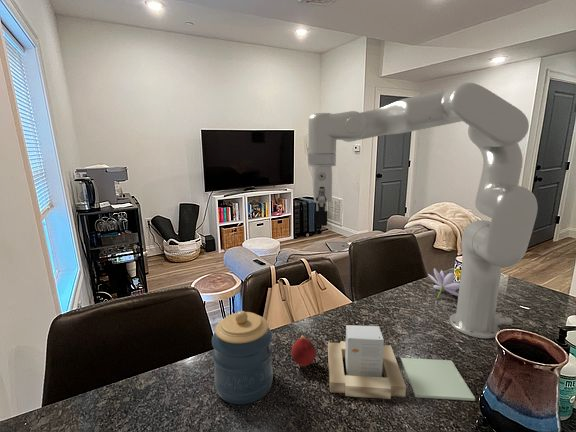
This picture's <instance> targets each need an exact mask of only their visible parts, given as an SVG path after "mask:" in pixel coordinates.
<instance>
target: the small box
mask: <svg viewBox="0 0 576 432" xmlns="http://www.w3.org/2000/svg"><path fill="white" fill-rule="evenodd" d="M345 341H346V348H345V358H344V363H345V364H344V365H345V372H346V374H345V375H349V376H367V377H383V371H382V369H383V351H384V345H385V339H384V337H383V334H382V330H381V328H380V326H378V325H377V326H376V325H375V326H374V325H354V324H352V325H350V324H349V325H348V324H346V325H345Z"/></svg>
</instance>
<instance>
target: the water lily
mask: <svg viewBox="0 0 576 432" xmlns="http://www.w3.org/2000/svg"><path fill="white" fill-rule="evenodd" d="M433 273H434V276H432V275H431V274H429V273H427V276H428V277H429V278H430V279H431V280H432V281H433V282H434V283H435V284H434V285H433V289H435V290H439V292H438V294H437V298H436V299H438V300H439V299H440V296H441V295H442V292H443V289H444V290H445V291H446V292H448V293H450V294H451V295H453V296H454V297H455V296H456V297H458V294H459V292H458V291H457V290H459V285H460V280H459V281H457V280H455V281H453V280H454V279H455V274H454V273H453V272H449V273H447V275H445V273H444V271H443V270H442V269H441V270H440V273H439V271H438V270H437V269H436V268H433Z"/></svg>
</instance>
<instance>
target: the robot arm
mask: <svg viewBox="0 0 576 432" xmlns="http://www.w3.org/2000/svg"><path fill="white" fill-rule="evenodd" d="M461 122H463V123H465V124H466V125H468V129H467V135H468V138H469V140H470V141H471V142H472V143H473V144H474V145H475V146H476V147H478V149H479V151H480V152H481V155H482V159H483V164H482V171H481V175H480V180H479V184H478V188H477V192H476V197H475V201H474V203H475V204H474V205H475V207H476V209H477V211H478V212H479V213H480V214H482V215H484V216H485V217H488V218H491V220H485V219H483V220H482V219H479V220H475V221H472V222H470V223H469V224H467V225H466V226H465V227H464V229H463V231H462V235H461V255H462V256H461V257H462V258H461V260H462V261H461V270H460V278H459V282H460V283H459V284H460V285H459V289H458V293H459V294H458V296H457V305H456V312H454V313H451V315H450V316H449V323H450V325H451V326H452V327H453V328H454V329H455V330H456V331H458V332H460V333H462V334H463V335H464V334H465V335H466V336H470V337H473V338H477V339H478V338H479V339H493V338H496V337H495V335H496V333H497V332H498V331H499V330H500V327H499V326H501V325H509V326H510V325H513V324H514V321H513V318H511V317H506V316H505V317H503V314H502V313H496V310H497V303H498V297H499V291H500V290H499V289H500V284H501V283H500V282H501V276H502V268H510V267H513V266H515V265H517V264H519V263H520V261H521V260H522V259H523V258H524V256H525V255H526V252H527V250H528V247H529V243H530V240H531V237H532V234H533V230H534V226H535V222H536V219H537V216H538V215H537V214H538V210H539V209H538V208H539V207H538V201H537V198H536V196H535V195H534V193H533V192H532V191H531V190H530V189H528V188H526V187H524V186H522V185H519V183H520V179H521V173H522V168H523V159H524V158H523V153H522V150H521V148H520V145H519V143H520V142H522V141H523V139H525V137H526V135H528V131H529V128H530V127H529V126H530V124H529V119H528V117H527V116H526V114H525V113H524V112H523V111H522V110H521V109H520V108H518V107H517V106H515V105H513V104H512V103H510V102H508V101H507V100H505V99H503V97H501V96H499V95H498V94H496V93H495V92H492V91H491V90H490V89H488V88H486V87H484V86H482V85H480V84H477V83H474V82H464V83H461V84H458V85H456V86H454V87H452V88H448V89H445V90H439V91H436V92H431V93H427V94H422V95H417V96H410V97H406V98H402V99H399V100H397V101H394V102H392V103H390V104H386V105H385V106H382V107H379V108H375V109H370V110H367V111H362V112H361V111H360V112H359V111H357V110H356V111H355V110H350V111H344V112H336V113H331V112H318V113H312V114H311V115H309V117H308V133H307V134H308V135H307V136H308V137H307V138H308V142H307V145H308V150H307V151H308V154H307V155H308V156H307V163H308V165H307V166H308V167H312V193H313V194H312V195H313V202H314V203H315V211H314V213H315V215H314V217H315V218H314V219H315V220H314V225H315V226H317V227H322V226H323V227H326V226H327V225H328V211H327V207H328V206H327V205H328V202H329V204H331V203H332V202H333V167H336V166H337V165H336V164H337V160H336V159H337V140H339V141H343V142H347V143H350V142H356V141H360V140H365V139H371V138H375V137H380V136H385V135H386V136H388V135H398V134H399V135H400V134H405V133H411V132H414V131H420V130H425V129H430V128H435V127H440V126H445V125H450V124H455V123H461ZM499 332H500V331H499Z"/></svg>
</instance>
